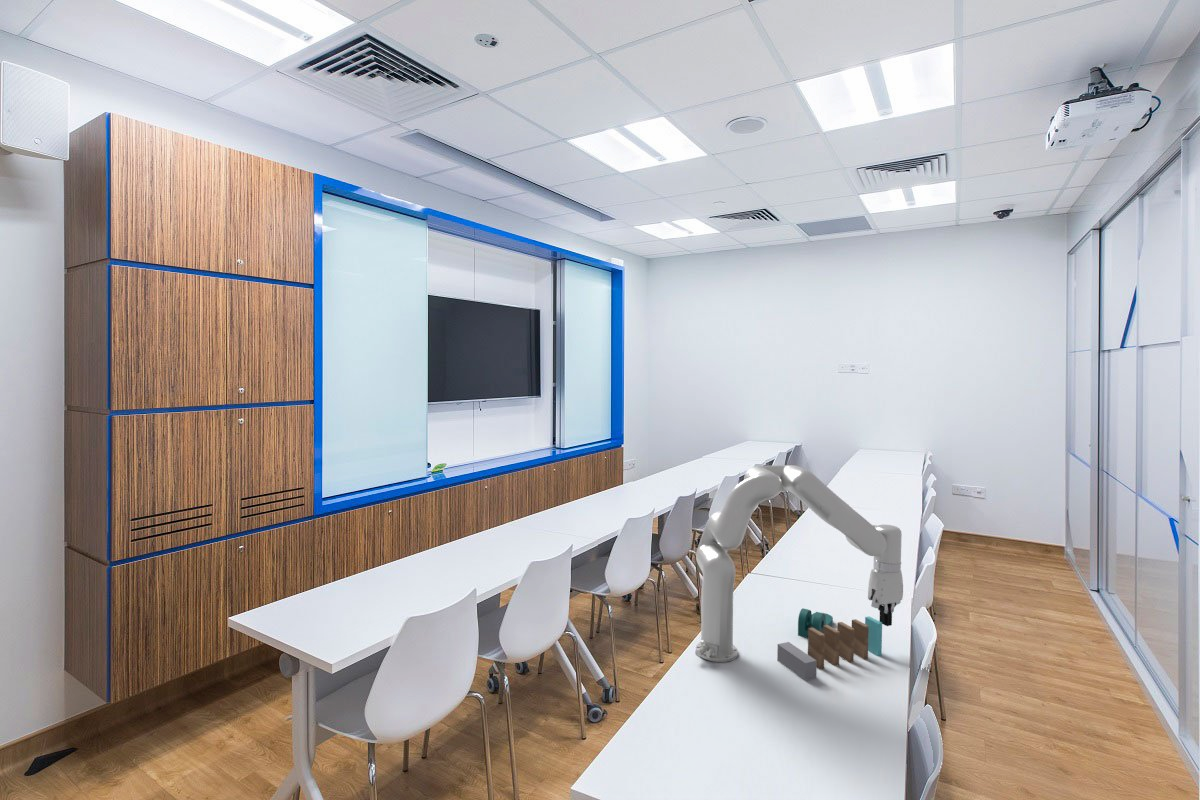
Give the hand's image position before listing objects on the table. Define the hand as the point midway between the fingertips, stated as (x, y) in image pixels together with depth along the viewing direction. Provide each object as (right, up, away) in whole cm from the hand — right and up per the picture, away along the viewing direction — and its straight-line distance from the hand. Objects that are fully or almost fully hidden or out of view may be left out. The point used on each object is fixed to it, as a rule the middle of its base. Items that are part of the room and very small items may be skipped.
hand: (885, 623), depth 178 cm
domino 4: (-10, -8, -3) cm, 13 cm away
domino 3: (-15, -8, -5) cm, 18 cm away
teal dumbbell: (-16, -8, +15) cm, 23 cm away
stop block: (-32, -9, -11) cm, 35 cm away
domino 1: (-25, -9, -9) cm, 28 cm away
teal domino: (-5, -8, -1) cm, 9 cm away
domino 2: (-20, -8, -7) cm, 23 cm away
